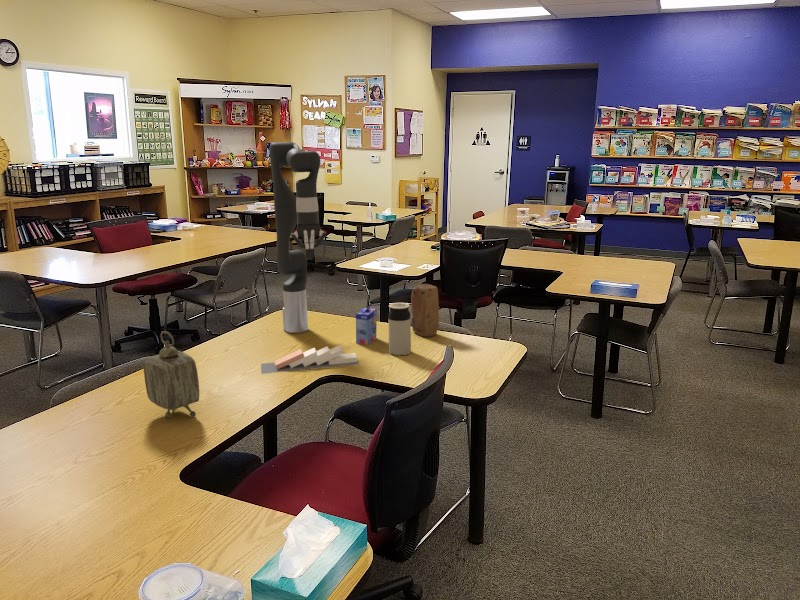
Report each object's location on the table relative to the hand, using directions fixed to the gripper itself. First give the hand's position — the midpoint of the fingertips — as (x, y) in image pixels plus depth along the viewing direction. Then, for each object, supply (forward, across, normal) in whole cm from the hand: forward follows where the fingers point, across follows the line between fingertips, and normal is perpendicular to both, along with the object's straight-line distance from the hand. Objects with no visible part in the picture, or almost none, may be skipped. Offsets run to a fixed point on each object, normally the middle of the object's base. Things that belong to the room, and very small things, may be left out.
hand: (310, 259), depth 221 cm
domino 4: (+34, +1, +13) cm, 36 cm away
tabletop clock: (+35, +44, +43) cm, 71 cm away
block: (+35, -45, -11) cm, 58 cm away
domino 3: (+34, +5, +13) cm, 37 cm away
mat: (+35, +3, +13) cm, 37 cm away
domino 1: (+34, +15, +13) cm, 39 cm away
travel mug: (+35, -30, +8) cm, 47 cm away
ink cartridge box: (+35, -21, -8) cm, 42 cm away
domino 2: (+34, +10, +13) cm, 38 cm away
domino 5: (+34, -3, +13) cm, 36 cm away
